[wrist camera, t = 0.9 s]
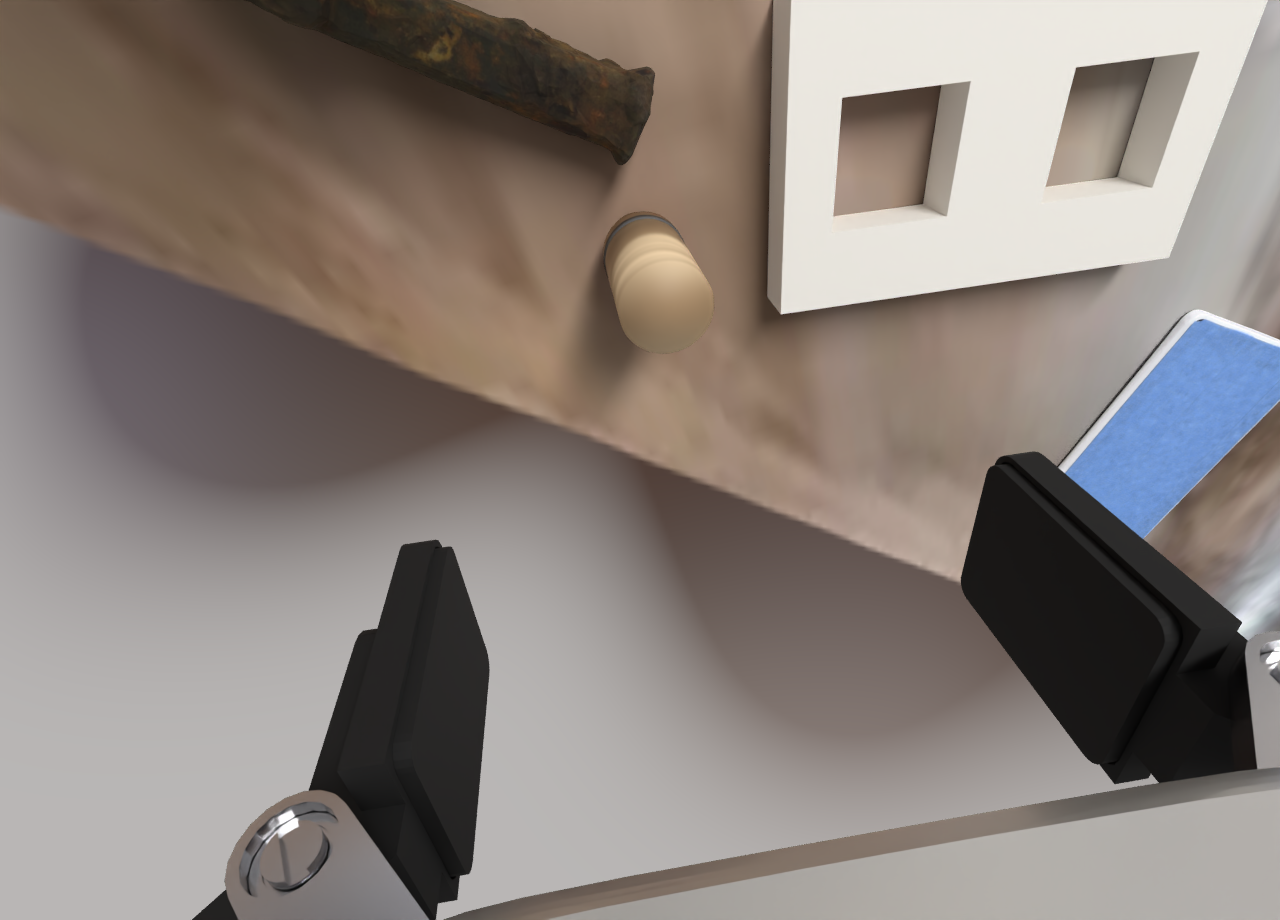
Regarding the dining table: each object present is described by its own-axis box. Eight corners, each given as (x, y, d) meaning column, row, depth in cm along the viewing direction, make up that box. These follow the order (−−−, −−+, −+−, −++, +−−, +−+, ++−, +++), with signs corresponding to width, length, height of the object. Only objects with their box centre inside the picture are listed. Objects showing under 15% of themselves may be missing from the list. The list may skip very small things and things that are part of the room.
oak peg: (594, 208, 33) (612, 268, 26) (674, 197, 33) (713, 253, 26) (604, 286, 35) (623, 361, 28) (679, 275, 36) (716, 347, 28)
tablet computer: (1114, 551, 55) (1125, 562, 54) (997, 527, 51) (1007, 538, 50) (1308, 349, 45) (1327, 358, 44) (1181, 301, 42) (1198, 309, 40)
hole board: (773, -5, 29) (791, -5, 27) (1241, -62, 30) (1292, -66, 28) (767, 297, 37) (780, 314, 35) (1134, 243, 38) (1168, 257, 36)
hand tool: (654, 70, 30) (671, 80, 26) (621, 158, 32) (633, 178, 28) (187, -162, 24) (122, -193, 20) (181, -36, 26) (120, -43, 22)
